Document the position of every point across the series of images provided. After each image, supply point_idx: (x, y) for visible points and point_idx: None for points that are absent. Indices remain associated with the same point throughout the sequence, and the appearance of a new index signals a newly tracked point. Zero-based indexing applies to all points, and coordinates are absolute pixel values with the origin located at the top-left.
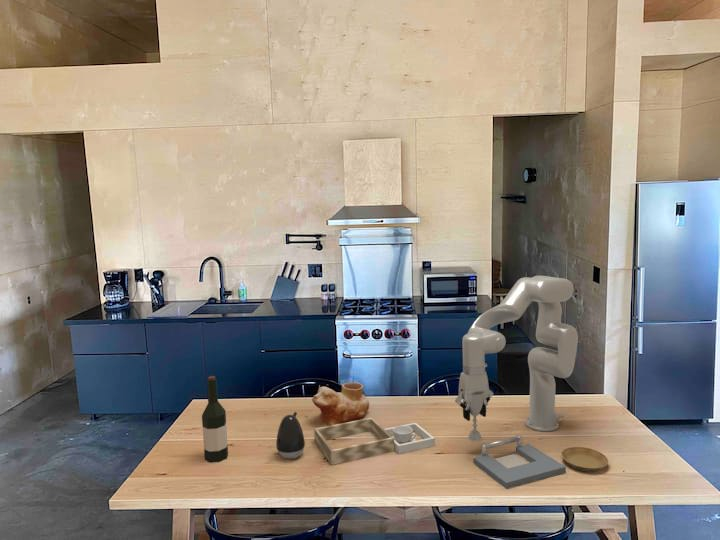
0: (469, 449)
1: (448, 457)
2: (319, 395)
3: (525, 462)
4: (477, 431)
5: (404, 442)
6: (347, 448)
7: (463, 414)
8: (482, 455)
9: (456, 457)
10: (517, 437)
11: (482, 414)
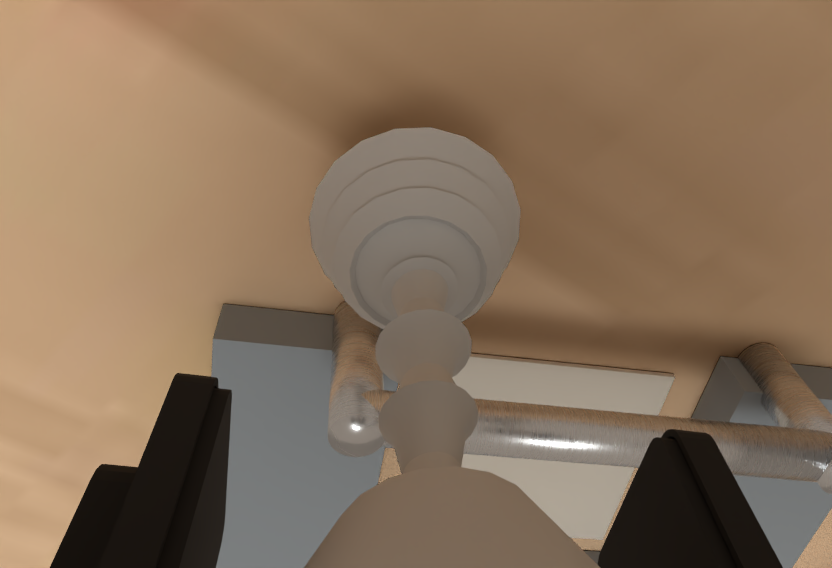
0: (396, 60)
1: (25, 72)
2: None
3: (612, 499)
4: (459, 294)
5: None
6: None
7: (78, 523)
8: (330, 356)
9: (123, 126)
10: (807, 479)
11: (622, 552)
